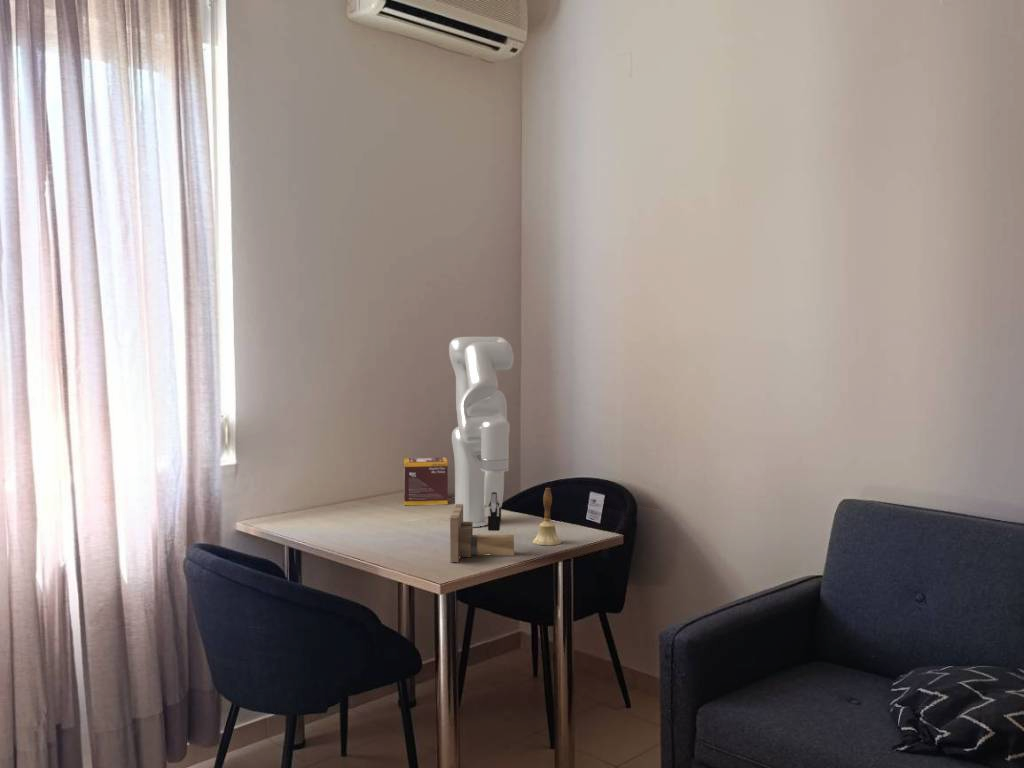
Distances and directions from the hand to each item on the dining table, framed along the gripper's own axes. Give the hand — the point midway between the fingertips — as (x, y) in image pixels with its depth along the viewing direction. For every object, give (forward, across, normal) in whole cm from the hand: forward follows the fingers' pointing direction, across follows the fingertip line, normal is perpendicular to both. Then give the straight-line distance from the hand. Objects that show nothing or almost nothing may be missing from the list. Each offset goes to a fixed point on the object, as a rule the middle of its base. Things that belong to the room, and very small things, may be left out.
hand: (494, 526), depth 259 cm
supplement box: (+11, -76, -27) cm, 81 cm away
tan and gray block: (+8, +1, -2) cm, 8 cm away
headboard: (+8, +1, -8) cm, 11 cm away
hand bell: (+8, -13, +15) cm, 21 cm away
